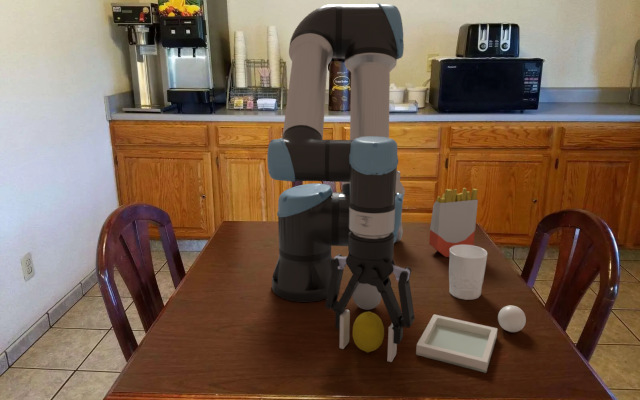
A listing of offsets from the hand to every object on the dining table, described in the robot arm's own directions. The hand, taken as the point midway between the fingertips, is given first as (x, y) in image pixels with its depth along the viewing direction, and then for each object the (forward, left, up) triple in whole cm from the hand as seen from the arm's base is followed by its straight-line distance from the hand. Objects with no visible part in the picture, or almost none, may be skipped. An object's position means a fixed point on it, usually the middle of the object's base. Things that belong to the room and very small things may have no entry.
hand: (367, 351), depth 91 cm
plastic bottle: (-14, +54, 0) cm, 56 cm away
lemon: (0, 0, -1) cm, 1 cm away
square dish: (+14, +9, 0) cm, 17 cm away
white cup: (+11, +31, -1) cm, 33 cm away
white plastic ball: (+22, +19, 0) cm, 29 cm away
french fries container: (+3, +53, -1) cm, 53 cm away
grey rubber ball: (-6, +15, 0) cm, 16 cm away
